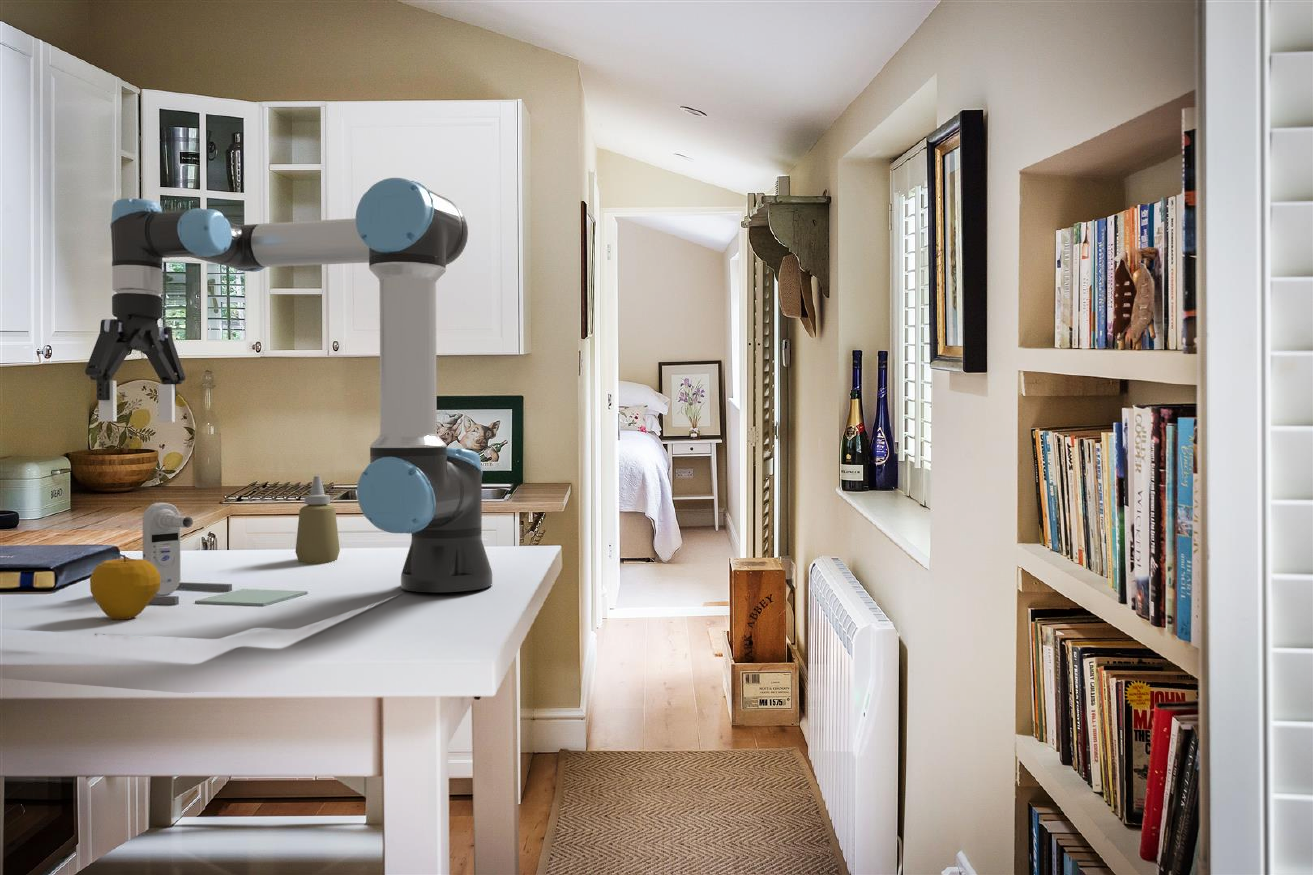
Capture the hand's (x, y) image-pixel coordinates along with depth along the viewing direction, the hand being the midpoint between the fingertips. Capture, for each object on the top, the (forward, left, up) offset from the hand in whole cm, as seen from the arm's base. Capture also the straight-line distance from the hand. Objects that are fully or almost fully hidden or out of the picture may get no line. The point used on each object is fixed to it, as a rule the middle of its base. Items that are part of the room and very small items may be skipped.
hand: (138, 422), depth 169 cm
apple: (-15, +21, -28) cm, 39 cm away
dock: (-9, +4, -28) cm, 30 cm away
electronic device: (-9, +4, -28) cm, 30 cm away
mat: (-23, +3, -28) cm, 37 cm away
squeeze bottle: (-15, -29, -28) cm, 44 cm away
